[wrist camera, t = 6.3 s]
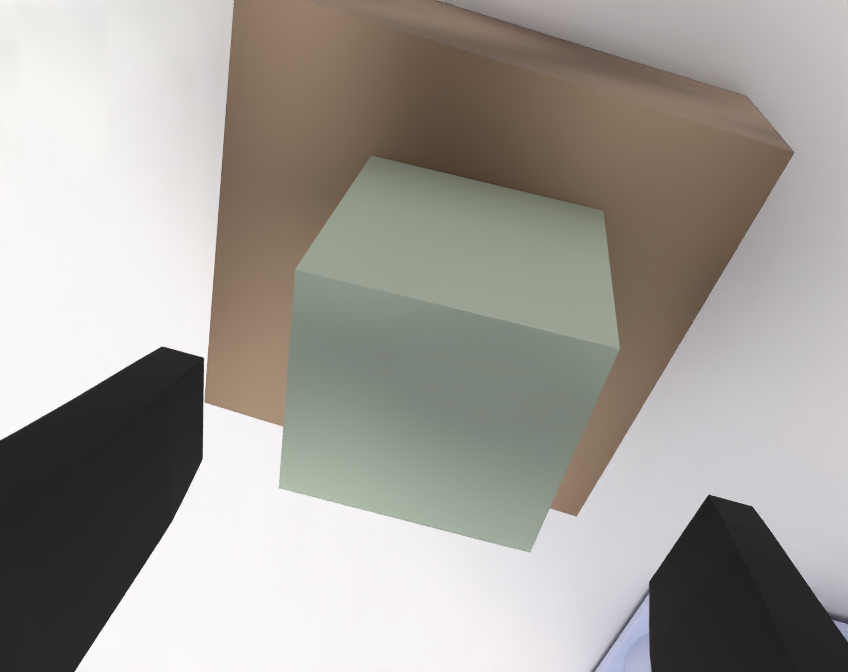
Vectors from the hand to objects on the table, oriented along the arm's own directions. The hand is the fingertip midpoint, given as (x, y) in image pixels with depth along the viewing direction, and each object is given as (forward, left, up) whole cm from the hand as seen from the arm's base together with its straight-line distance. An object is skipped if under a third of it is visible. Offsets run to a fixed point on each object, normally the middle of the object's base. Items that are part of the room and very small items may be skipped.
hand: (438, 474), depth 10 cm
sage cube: (0, 0, -5) cm, 5 cm away
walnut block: (+1, +1, -9) cm, 9 cm away
